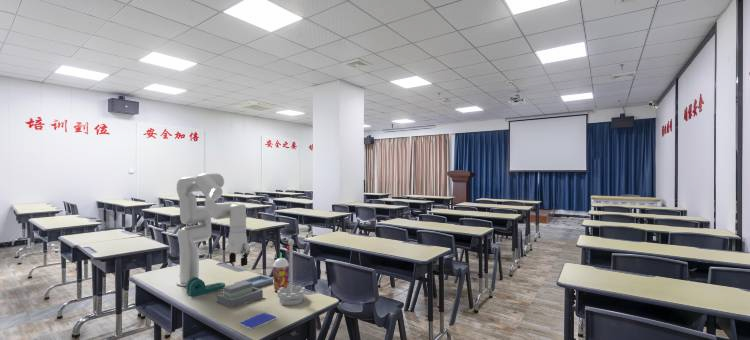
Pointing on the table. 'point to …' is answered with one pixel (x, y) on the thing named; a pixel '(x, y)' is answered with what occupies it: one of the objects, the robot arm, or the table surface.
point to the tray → (259, 281)
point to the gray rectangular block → (237, 289)
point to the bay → (240, 298)
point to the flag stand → (291, 285)
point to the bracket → (201, 287)
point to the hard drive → (258, 320)
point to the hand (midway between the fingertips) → (238, 263)
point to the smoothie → (280, 273)
